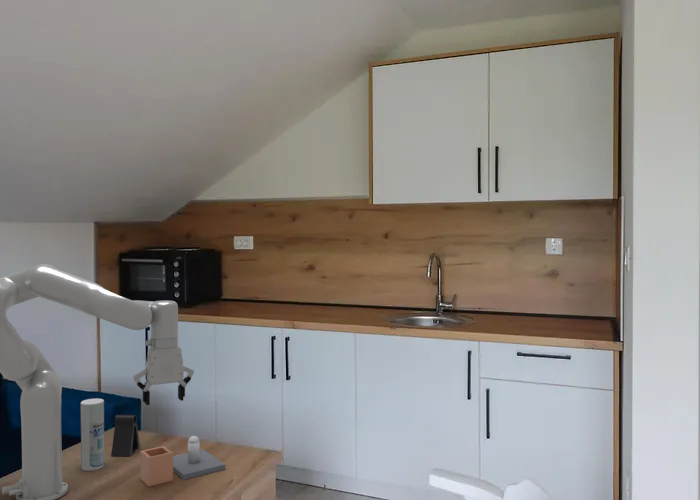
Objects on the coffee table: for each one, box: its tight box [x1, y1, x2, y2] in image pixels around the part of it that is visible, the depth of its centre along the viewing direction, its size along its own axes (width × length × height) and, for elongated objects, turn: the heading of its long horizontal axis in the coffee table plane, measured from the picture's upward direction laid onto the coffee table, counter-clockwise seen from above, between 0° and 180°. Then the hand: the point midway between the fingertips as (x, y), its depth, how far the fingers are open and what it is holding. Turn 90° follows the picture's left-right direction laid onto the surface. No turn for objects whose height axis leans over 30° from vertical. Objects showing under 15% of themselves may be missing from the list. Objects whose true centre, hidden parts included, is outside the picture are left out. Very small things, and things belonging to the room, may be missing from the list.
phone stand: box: [110, 414, 141, 458], centre depth 194 cm, size 9×6×12 cm, turn 178°
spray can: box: [80, 398, 105, 472], centre depth 181 cm, size 6×6×20 cm
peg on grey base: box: [173, 435, 226, 481], centre depth 182 cm, size 13×16×9 cm
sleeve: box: [139, 445, 174, 487], centre depth 172 cm, size 7×7×8 cm
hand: (164, 401), depth 174 cm, fingers open, 9 cm apart
